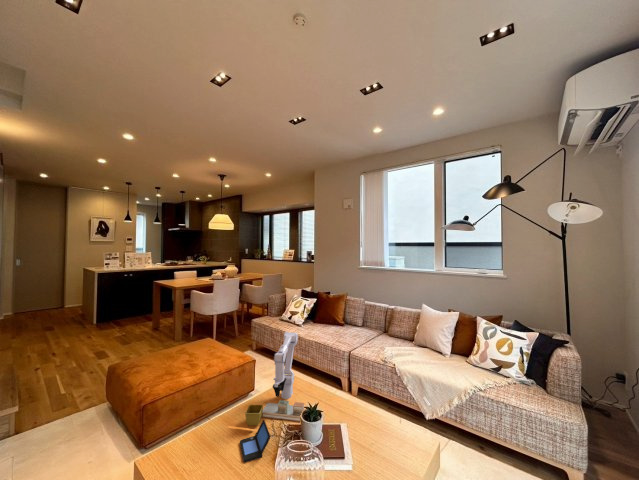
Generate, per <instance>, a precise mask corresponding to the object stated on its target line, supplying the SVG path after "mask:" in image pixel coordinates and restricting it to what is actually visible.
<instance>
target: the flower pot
mask: <svg viewBox="0 0 639 480" xmlns="http://www.w3.org/2000/svg"><path fill="white" fill-rule="evenodd" d="M263 409H264V405H263V404H248V406H247V409H246V411H245V413H244V415H245V422H246V424H247V426H248V427H249V426H251V427H253V426H256V427H257V426H258V427H259V424H260V422H261V419H262V417H261V416H262V411H263Z"/></svg>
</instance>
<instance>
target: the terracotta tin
mask: <svg viewBox="0 0 639 480" xmlns="http://www.w3.org/2000/svg"><path fill="white" fill-rule="evenodd" d="M304 407H305V403H304V402H297V401H295V402H294V404H293V415H294V416H300V415H301V413H302V411H303V410H304Z"/></svg>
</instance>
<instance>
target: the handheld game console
mask: <svg viewBox="0 0 639 480" xmlns="http://www.w3.org/2000/svg"><path fill="white" fill-rule="evenodd" d="M258 427H259V428H258V430H257V431H256V433H255V435H252V436H250V437H249V436H248V437H245V438H241V439H240V440H239V446H240V451H241V455H242V461H243V462H244V463H247V462H252V461H255V460H257V459H261V458H263V454H264V451H265V449H266V448H267V446H268V443H269V441H270V439H271V434H270V431H269V429H268V426H267V423H266V420H265V419H263V420H262V422H261V424H260V425H259V426H258Z"/></svg>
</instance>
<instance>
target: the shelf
mask: <svg viewBox="0 0 639 480" xmlns="http://www.w3.org/2000/svg"><path fill="white" fill-rule="evenodd" d="M293 405H294V404H293ZM293 405H291V404H289V412H288V413H287V414H280V413H278V403H274V402H267V403H266V404H265V406H263V411H262V416H261V418H269V419H277V420H286V421H293V422H301V421H300V416H294V415H293Z"/></svg>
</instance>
